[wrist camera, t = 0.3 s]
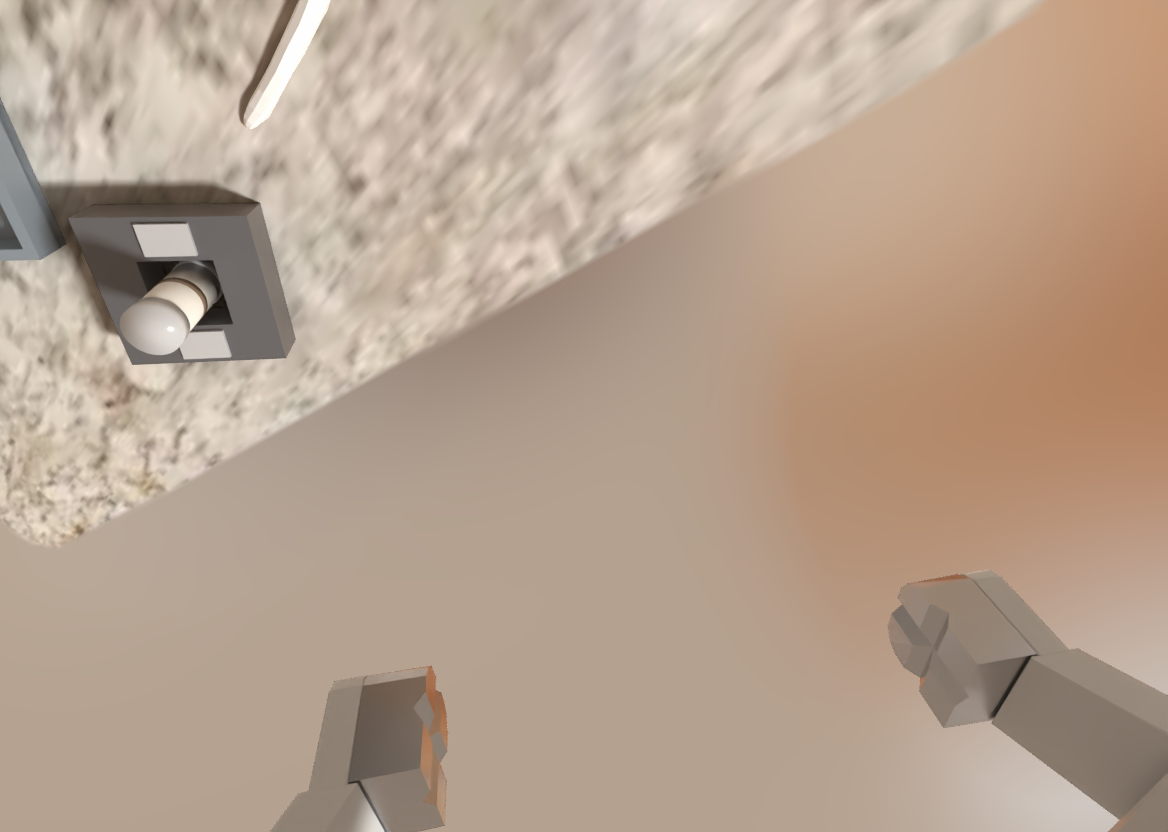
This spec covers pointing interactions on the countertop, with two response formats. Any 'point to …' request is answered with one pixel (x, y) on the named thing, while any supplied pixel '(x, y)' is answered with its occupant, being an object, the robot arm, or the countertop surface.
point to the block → (189, 233)
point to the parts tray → (22, 203)
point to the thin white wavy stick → (285, 59)
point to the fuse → (172, 308)
